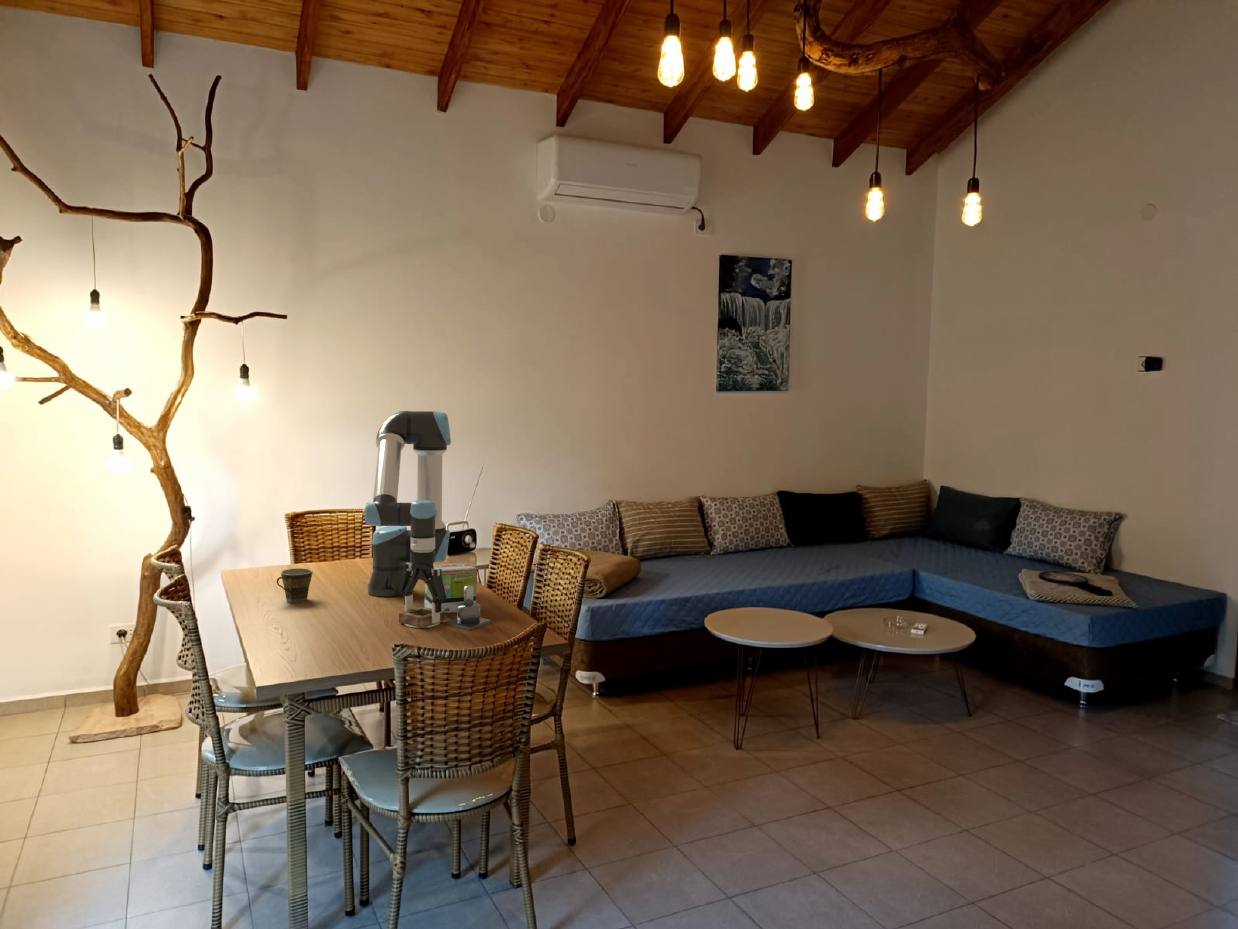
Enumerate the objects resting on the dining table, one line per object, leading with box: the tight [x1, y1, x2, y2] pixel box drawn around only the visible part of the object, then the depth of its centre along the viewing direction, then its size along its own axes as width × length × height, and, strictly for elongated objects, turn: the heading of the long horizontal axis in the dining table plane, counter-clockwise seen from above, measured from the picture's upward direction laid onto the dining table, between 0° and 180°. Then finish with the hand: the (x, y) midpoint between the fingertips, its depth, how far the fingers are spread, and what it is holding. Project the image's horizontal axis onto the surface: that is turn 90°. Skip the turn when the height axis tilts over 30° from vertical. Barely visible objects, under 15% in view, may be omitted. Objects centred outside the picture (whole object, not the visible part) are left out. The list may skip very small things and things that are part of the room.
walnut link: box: [398, 606, 446, 629], centre depth 271 cm, size 10×10×3 cm
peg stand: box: [444, 585, 492, 631], centre depth 271 cm, size 10×10×12 cm
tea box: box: [423, 562, 478, 614], centre depth 287 cm, size 15×10×15 cm, turn 117°
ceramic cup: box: [276, 567, 313, 604], centre depth 291 cm, size 13×10×10 cm
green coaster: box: [404, 622, 441, 629], centre depth 271 cm, size 11×11×1 cm
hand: (422, 619), depth 271 cm, fingers open, 11 cm apart
